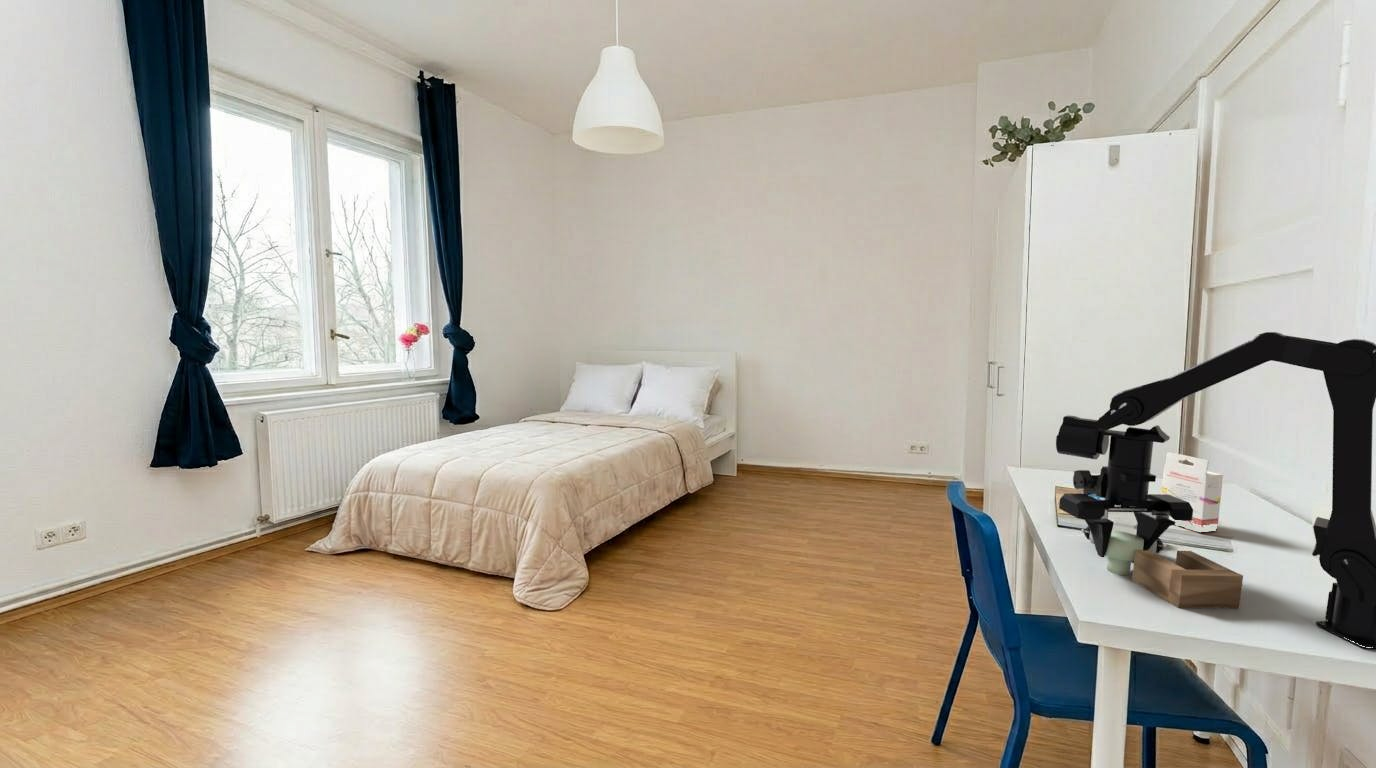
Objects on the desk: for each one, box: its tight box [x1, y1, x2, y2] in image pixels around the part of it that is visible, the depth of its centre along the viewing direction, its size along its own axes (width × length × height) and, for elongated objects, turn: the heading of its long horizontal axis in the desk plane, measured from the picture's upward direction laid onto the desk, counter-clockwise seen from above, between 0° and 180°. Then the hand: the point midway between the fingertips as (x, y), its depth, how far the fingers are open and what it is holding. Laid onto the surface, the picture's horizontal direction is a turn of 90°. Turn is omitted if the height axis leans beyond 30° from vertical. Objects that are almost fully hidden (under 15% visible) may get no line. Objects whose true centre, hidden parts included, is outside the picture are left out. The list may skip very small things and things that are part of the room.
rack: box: [1131, 550, 1244, 609], centre depth 97 cm, size 10×9×5 cm
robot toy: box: [1081, 518, 1167, 554], centre depth 116 cm, size 12×4×15 cm
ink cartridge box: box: [1160, 451, 1224, 526], centre depth 128 cm, size 9×5×15 cm, turn 17°
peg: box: [1105, 530, 1144, 576], centre depth 105 cm, size 6×6×6 cm
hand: (1119, 556), depth 105 cm, fingers closed on peg, 6 cm apart
